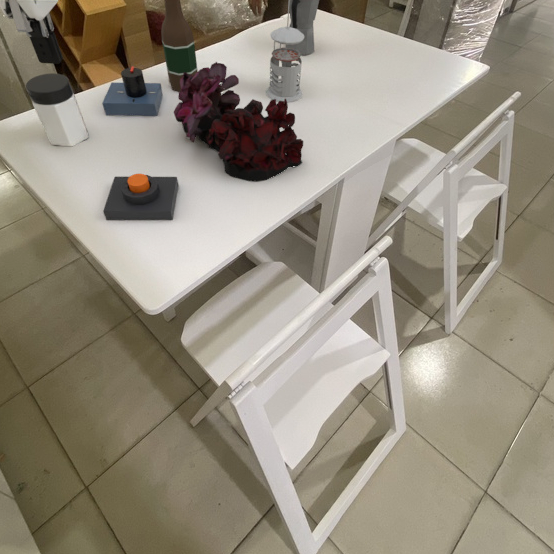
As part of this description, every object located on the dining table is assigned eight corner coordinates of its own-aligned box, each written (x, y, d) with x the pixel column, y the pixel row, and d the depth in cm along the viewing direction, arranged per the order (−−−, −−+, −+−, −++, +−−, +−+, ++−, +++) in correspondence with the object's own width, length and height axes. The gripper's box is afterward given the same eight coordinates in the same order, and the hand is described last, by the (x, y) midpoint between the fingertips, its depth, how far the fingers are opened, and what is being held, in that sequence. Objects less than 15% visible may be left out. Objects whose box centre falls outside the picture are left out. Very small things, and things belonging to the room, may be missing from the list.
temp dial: (145, 97, 95) (140, 76, 91) (124, 97, 94) (118, 75, 90) (148, 87, 98) (143, 66, 94) (128, 87, 97) (122, 66, 93)
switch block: (106, 220, 73) (99, 203, 70) (117, 185, 79) (111, 168, 76) (172, 220, 74) (168, 203, 71) (178, 185, 80) (175, 169, 77)
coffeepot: (292, 38, 127) (297, -31, 113) (320, 44, 125) (328, -26, 111) (275, 57, 118) (277, -15, 103) (305, 64, 116) (311, -10, 102)
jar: (48, 129, 90) (23, 75, 81) (85, 122, 93) (66, 69, 83) (51, 151, 86) (25, 96, 76) (91, 143, 88) (71, 89, 78)
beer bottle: (163, 84, 105) (143, -27, 86) (188, 75, 109) (173, -33, 90) (180, 96, 102) (163, -17, 83) (205, 86, 105) (194, -24, 86)
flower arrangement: (314, 154, 88) (323, 87, 77) (254, 198, 79) (254, 129, 67) (214, 104, 100) (209, 39, 88) (152, 136, 90) (136, 68, 78)
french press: (272, 104, 101) (275, -13, 81) (258, 83, 108) (259, -31, 88) (308, 99, 103) (320, -17, 84) (292, 78, 110) (300, -33, 90)
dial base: (106, 115, 95) (101, 102, 93) (114, 94, 101) (111, 81, 99) (157, 115, 96) (154, 103, 93) (162, 95, 102) (160, 82, 99)
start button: (128, 193, 73) (125, 185, 71) (131, 181, 75) (129, 173, 73) (148, 193, 73) (146, 186, 71) (151, 181, 75) (149, 173, 74)
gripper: (2, -78, 45) (62, 85, 59) (45, -105, 54) (88, 42, 68) (-69, -83, 44) (9, 83, 59) (-13, -109, 53) (42, 40, 68)
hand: (51, 60), depth 63 cm, fingers closed
